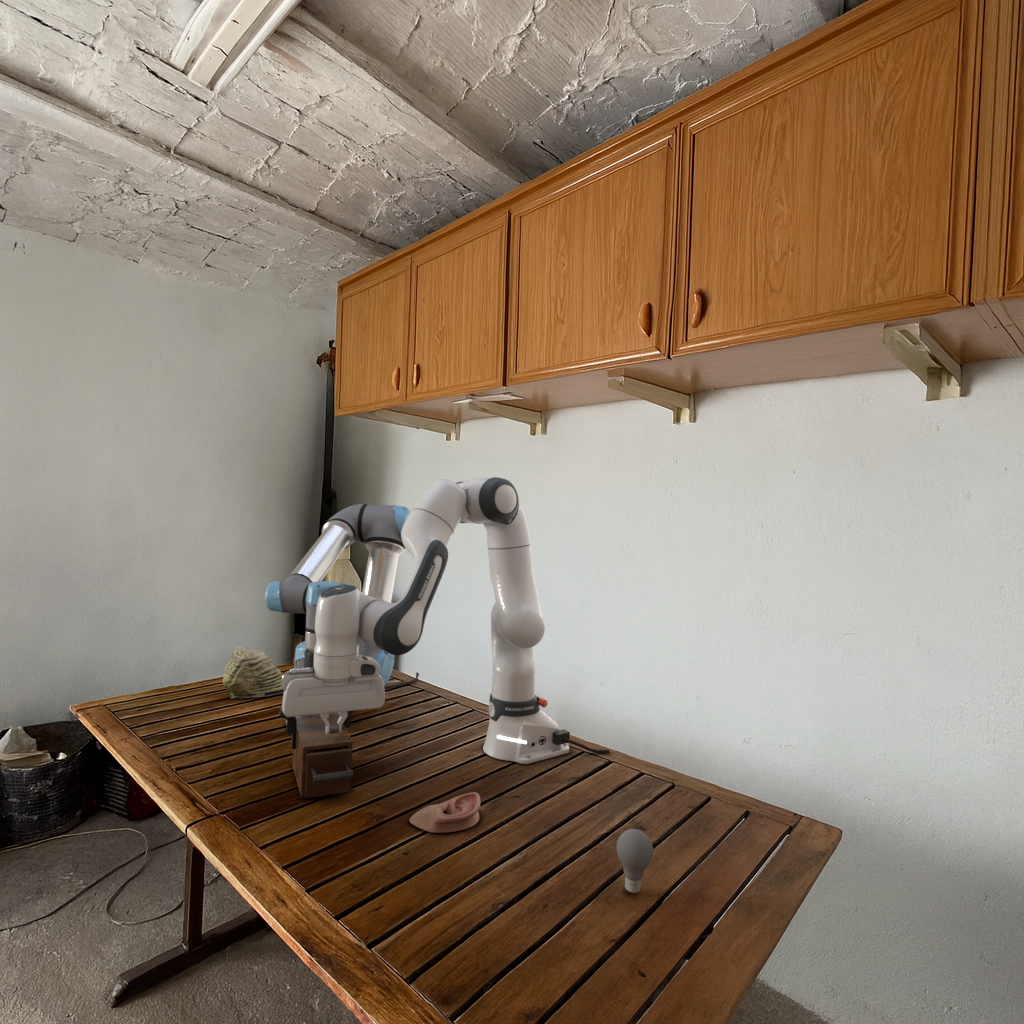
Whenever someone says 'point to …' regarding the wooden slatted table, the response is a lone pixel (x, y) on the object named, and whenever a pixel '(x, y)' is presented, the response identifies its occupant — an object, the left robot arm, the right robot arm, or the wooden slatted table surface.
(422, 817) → the anatomical model
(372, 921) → the wooden slatted table surface
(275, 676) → the fossil
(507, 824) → the wooden slatted table surface
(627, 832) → the light bulb
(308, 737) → the brown box
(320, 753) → the drawer
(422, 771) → the wooden slatted table surface
